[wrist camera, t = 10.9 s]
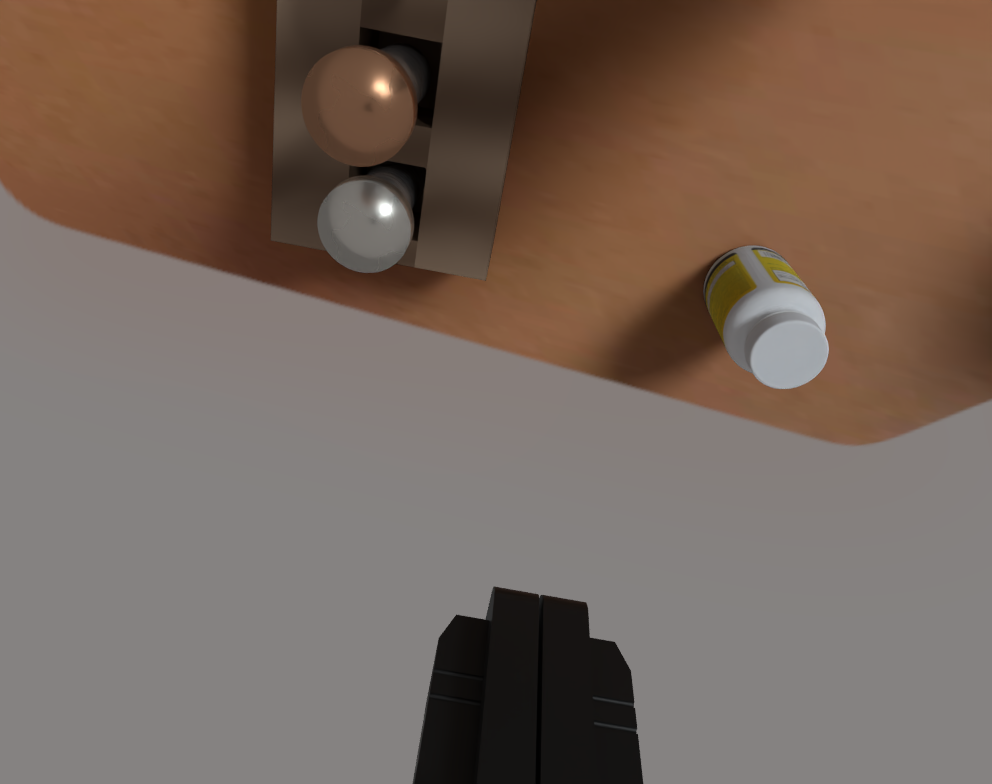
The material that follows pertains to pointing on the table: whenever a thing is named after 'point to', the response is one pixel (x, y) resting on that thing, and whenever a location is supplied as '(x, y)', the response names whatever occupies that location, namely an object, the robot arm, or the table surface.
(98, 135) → the table surface
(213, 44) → the table surface
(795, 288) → the supplement bottle
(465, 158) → the mount
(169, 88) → the table surface
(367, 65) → the copper and grey cylinder
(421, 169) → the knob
